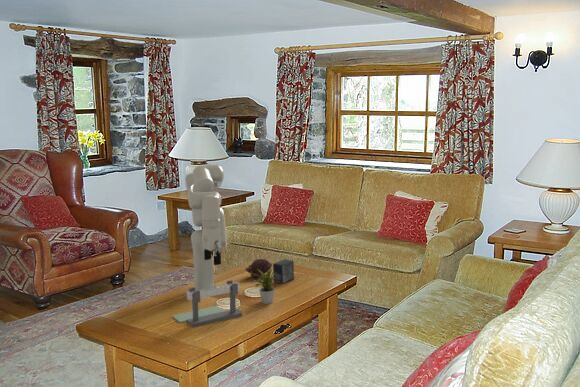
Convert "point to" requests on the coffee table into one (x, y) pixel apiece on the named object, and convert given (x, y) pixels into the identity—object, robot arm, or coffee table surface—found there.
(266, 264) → the pine cone
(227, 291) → the steel rail
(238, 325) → the coffee table surface
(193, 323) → the grey base with uprights
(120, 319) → the coffee table surface
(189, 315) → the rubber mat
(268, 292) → the house plant
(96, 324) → the coffee table surface
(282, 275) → the small box
